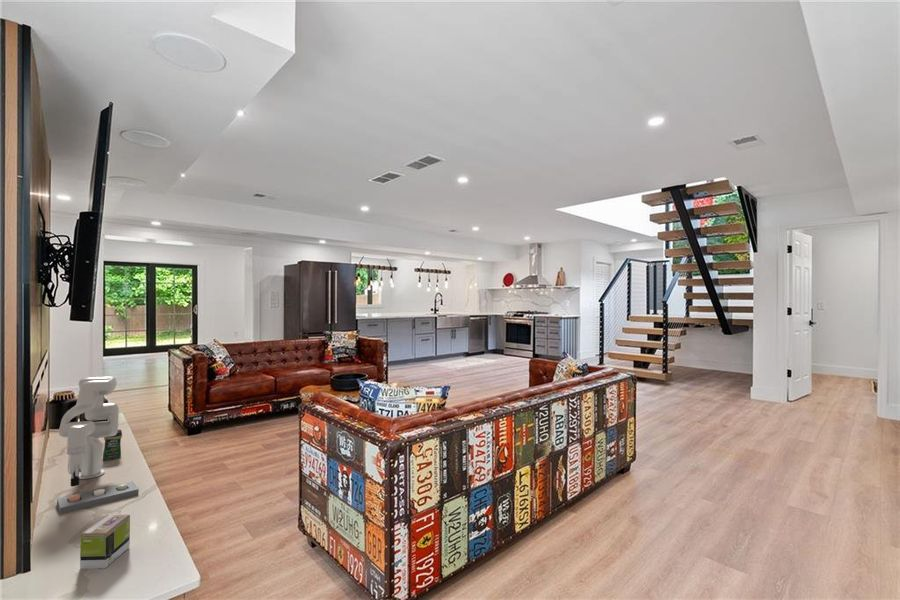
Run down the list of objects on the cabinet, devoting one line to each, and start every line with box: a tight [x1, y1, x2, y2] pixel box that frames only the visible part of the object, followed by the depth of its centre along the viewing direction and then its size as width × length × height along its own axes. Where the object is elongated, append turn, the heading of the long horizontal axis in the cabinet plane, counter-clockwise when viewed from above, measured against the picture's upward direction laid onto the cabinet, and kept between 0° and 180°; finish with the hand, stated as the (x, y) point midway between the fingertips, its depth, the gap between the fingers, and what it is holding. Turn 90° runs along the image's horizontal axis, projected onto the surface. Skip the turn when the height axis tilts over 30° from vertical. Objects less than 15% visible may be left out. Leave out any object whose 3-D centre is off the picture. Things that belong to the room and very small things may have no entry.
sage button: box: [117, 483, 127, 491], centre depth 235 cm, size 4×4×3 cm
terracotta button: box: [69, 494, 80, 502], centre depth 220 cm, size 4×4×3 cm
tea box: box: [79, 514, 131, 570], centre depth 178 cm, size 15×10×15 cm
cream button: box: [94, 488, 105, 496], centre depth 228 cm, size 4×4×3 cm
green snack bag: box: [102, 429, 123, 461], centre depth 284 cm, size 10×8×19 cm
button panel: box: [56, 480, 139, 515], centre depth 228 cm, size 14×32×3 cm, turn 137°
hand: (74, 485), depth 220 cm, fingers closed
